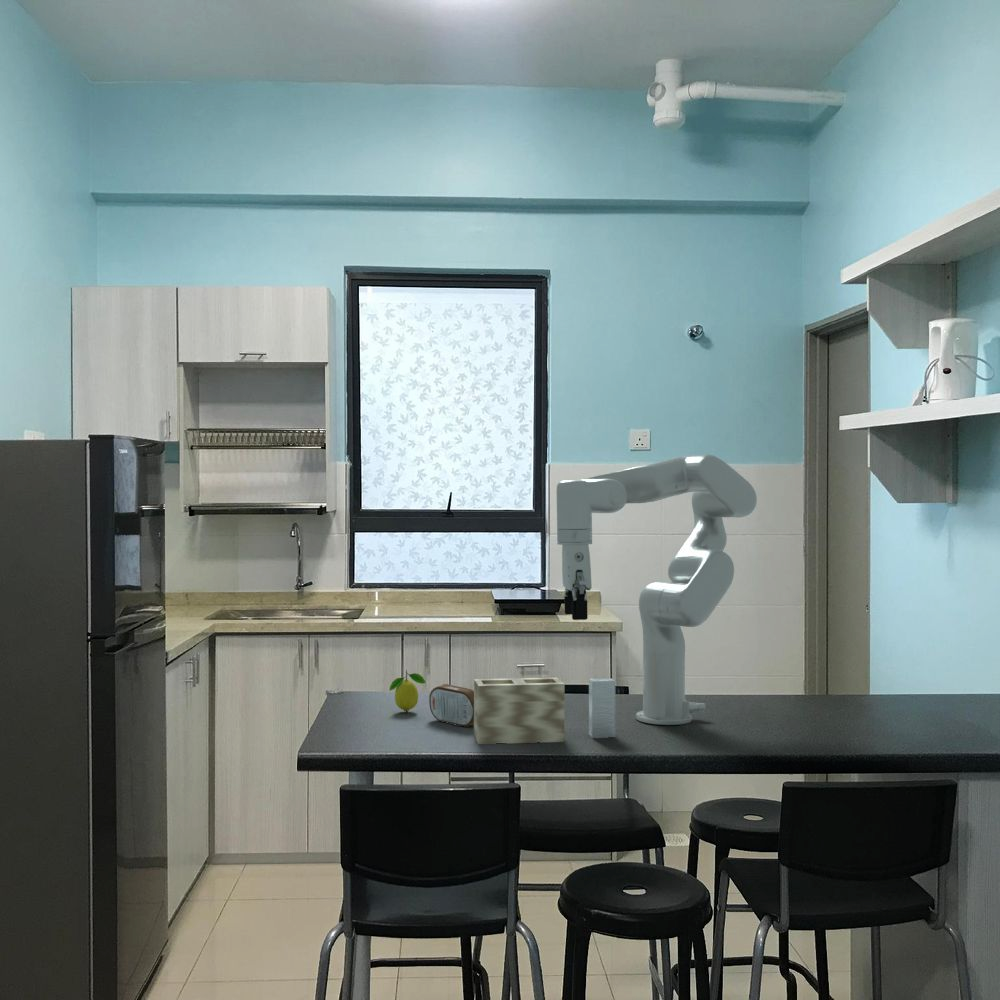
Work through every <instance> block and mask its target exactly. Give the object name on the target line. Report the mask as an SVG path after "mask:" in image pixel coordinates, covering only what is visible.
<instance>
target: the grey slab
mask: <svg viewBox="0 0 1000 1000" xmlns="http://www.w3.org/2000/svg"><path fill="white" fill-rule="evenodd" d="M589 735H590V736H591V737H592V738H591V737H590V736H589ZM588 736H589V737H590V738H591V739H607V738H608V737H615V738H616V680H615V679H613V678H589V679H588ZM608 739H609V738H608Z"/></svg>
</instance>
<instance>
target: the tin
mask: <svg viewBox="0 0 1000 1000" xmlns="http://www.w3.org/2000/svg"><path fill="white" fill-rule="evenodd" d="M428 697H429V699H428V702H429V710H430V712H431V714H432V715H433V716H432V717H433V718H434V719H435V720H437V721H438V720H439V721H438V722H440V721H443V722H442V723H444V722H448V723H451V724H450V725H453V724H456V725H455V726H457V725H460V726H459V727H461V726H464V727H463V728H469V727H472V725H473V726H474V689H471V688H468V687H462V686H457V685H452V684H448V683H444V684H441V685H438V686H435V687H434V688H432V690H431V691H430V693H429V696H428ZM448 723H447V724H448Z"/></svg>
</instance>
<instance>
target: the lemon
mask: <svg viewBox="0 0 1000 1000" xmlns="http://www.w3.org/2000/svg"><path fill="white" fill-rule="evenodd" d="M408 676H409V677H410V678H411V680H412V681H414V682H415V683H418V684H426V681H425V678H424V677H423V676H422V675H421V674H419V673H410V674H409V673H408V671H407V669H406V670H405V676H404V677H397V678H395V679H394V680H393V681H392V682H391V684H390V686H389V691H393V690H394V689H395V692H394V701H395V704H396V706H397V707H398V708H399V709H401V710H403V712H404V711H408V712H409V711H410V710H411V709H414V708H415V707H416V706H417V704H418V701H419V693H418V689H417V687H416V684H414V682H412V681H410V680H409V679H408Z"/></svg>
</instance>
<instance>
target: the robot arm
mask: <svg viewBox="0 0 1000 1000" xmlns="http://www.w3.org/2000/svg"><path fill="white" fill-rule="evenodd" d="M687 493H692V497H691V506H692V511H693V519H694V520H693V521H694V522H693V523H694V526H693V529H692V531H691V533H690V535H689V536H688V537H687V539H686V540H685V542H684V543H683V544H682V545H681V547H680V548H679V549H678V551H677V552H676V554H675V555H674V556H673V558H672V559H671V560H670V563H669V566H668V569H667V570H668V573H667V575H668V578H669V579H670V581H671V582H670V581H655V582H651V583H649V584H647V585H646V586H644V588H643V589H642V591H641V592H640V594H639V597H638V598H639V599H638V608H639V609H638V610H639V614H640V615H639V616H640V621H641V626H642V641H643V643H642V644H643V645H642V646H643V647H642V648H643V650H642V693H643V694H642V710H640V711H638V712H636V714H635V719H636V720H637V721H639V722H642V723H646V724H651V725H657V726H658V725H660V726H675V725H676V726H677V725H686V724H689V723H691V722H692V720H693V719H692V718H693V716H692V714H693V712H697V713H699V712H700V713H701V712H706V711H707V707H706V706H707V705H706V703H705V702H696V701H695V702H693V701H692V702H691V701H689V700H687V699H686V695H685V694H686V641H685V637H684V636H685V635H684V632H683V631H682V628H681V627H685V628H696V627H699V626H700V625H703V624H704V623H705V622H706V621H707V620H708V618H710V616H711V615H712V613H713V612H714V610H715V609H716V607H717V606H718V605H719V603H720V601H721V600H722V599H723V598H724V596H725V595H726V593H727V592H728V590H729V589H730V587H731V585H732V582H733V580H734V577H735V575H734V574H735V566H734V565H735V564H734V561H733V560H732V558H731V556H730V555H729V554H728V553H727V552H725V551H724V549H725V548H726V547H727V546H726V545H727V540H728V539H727V537H728V536H727V532H726V529H725V524H724V520H723V518H744V517H747V516H750V515H751V514H752V513H753V511H755V509H756V507H757V500H758V499H757V498H758V497H757V493H756V491H755V489H754V487H753V486H752V484H751V483H750V482H749V481H748V480H747V479H746V478H744V477H743V476H742V475H741V474H740V473H739V472H738V471H736V470H735V469H734V468H733V467H732V466H730V465H729V464H728V463H727V462H725V461H723V459H721V458H719V457H717V456H715V455H712V454H695V455H694V454H693V455H682V456H677V457H673V458H671V459H669V458H668V459H665V460H662V461H658V462H654V463H650V464H645V465H640V466H635V467H631V468H627V469H623V470H618V471H613V472H608V473H602V474H598V475H594V476H590V477H586V478H584V479H583V478H582V479H570V480H569V479H568V480H561V481H559V482H558V483H557V485H556V542H557V543H556V544H557V545H561V547H562V548H561V549H562V550H561V572H562V574H561V575H562V586H563V588H564V599H563V600H564V614H565V615H571V618H572V620H573V621H581V620H582V621H584V620H585V621H586V620H588V617H589V616H588V615H589V614H588V596H587V592H588V591H591V590H592V588H593V587H592V585H593V583H592V570H591V569H592V568H591V555H590V554H591V553H590V548H589V547H590V546H589V545H592V544H593V517H592V516H593V514H613V513H614V514H615V513H617V512H618V511H621V510H622V509H623V508H624V507H625V505H626V504H646V503H653V502H656V501H657V502H658V501H661V500H665V499H667V498H672V497H676V496H680V495H683V494H687Z"/></svg>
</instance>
